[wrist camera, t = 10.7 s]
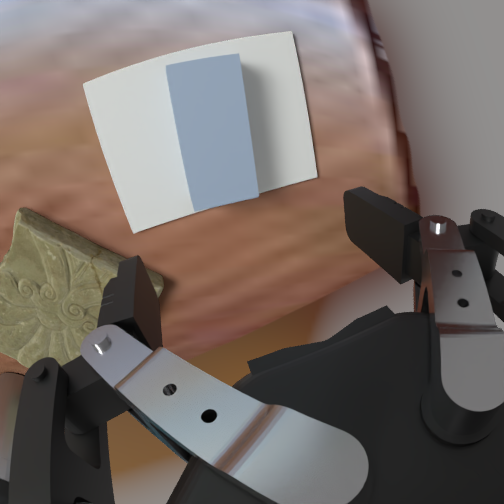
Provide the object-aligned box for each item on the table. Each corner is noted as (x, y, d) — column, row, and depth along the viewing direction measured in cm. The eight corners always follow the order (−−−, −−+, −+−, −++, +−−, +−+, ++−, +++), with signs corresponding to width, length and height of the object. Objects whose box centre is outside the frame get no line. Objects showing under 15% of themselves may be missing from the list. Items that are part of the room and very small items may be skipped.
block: (165, 69, 23) (165, 65, 20) (228, 58, 24) (239, 53, 21) (190, 196, 29) (194, 211, 26) (247, 183, 30) (259, 196, 27)
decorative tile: (165, 274, 34) (167, 293, 31) (100, 379, 38) (98, 399, 35) (14, 193, 25) (0, 206, 22) (-18, 325, 30) (-27, 343, 27)
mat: (133, 230, 30) (133, 233, 29) (84, 84, 22) (82, 83, 21) (314, 175, 32) (317, 177, 32) (289, 32, 24) (291, 31, 24)
